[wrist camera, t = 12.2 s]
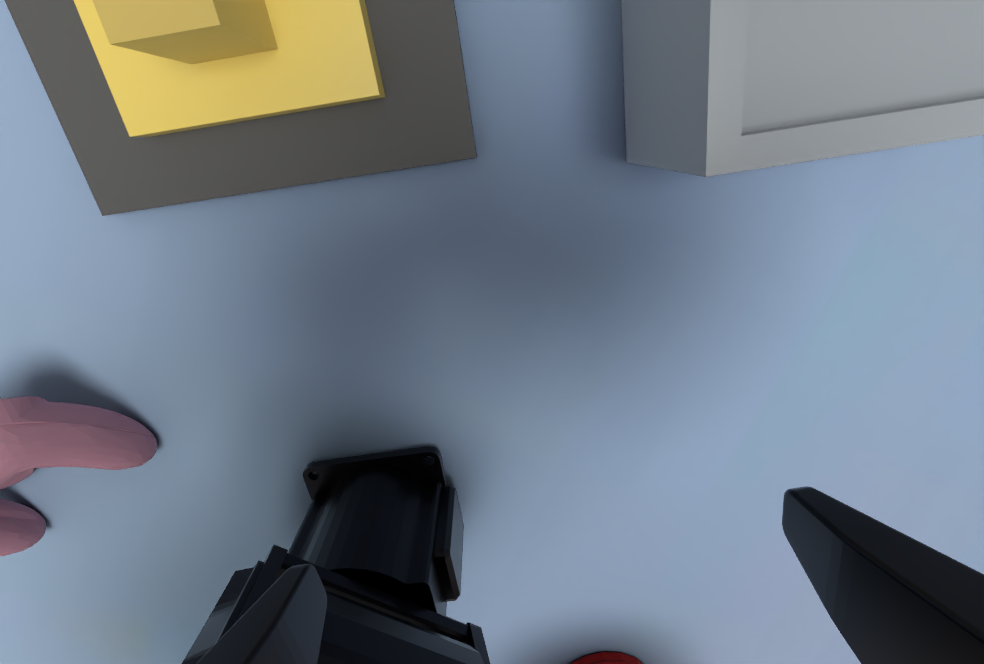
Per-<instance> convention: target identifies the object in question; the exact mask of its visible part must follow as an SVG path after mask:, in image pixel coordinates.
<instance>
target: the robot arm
mask: <svg viewBox="0 0 984 664" xmlns="http://www.w3.org/2000/svg"><path fill="white" fill-rule="evenodd" d="M428 456H430V457H432V458H434V459H432V460H428V459H426V458H425V457H428ZM312 472H316V473H318V474H319V475H315V474H313V473H312ZM303 478H304V481H305V483H306V486H307V489H308V491H309V494H310V497H311V499H312V502H311V505H310V507H309V509H308V511H307V513H306V515H305V517H304V520H303V522H302V524H301V526H300V528H299V530H298V532H297V535H296V537H295V539H294V541H293V543H292V545H291V547H290V549H289V552H288V553H287V551H288V550H286V549H284V548H281V547H279V546H276V545H273V547H272V549H271V550H270V552H269V554H268V556H267V557H266V559H265V561H264V562H262V561H258V563H257V564H256V565H255V567H254V568H249V569H244V570H239V571H235V573H234V574H233V576H232V578H231V580H230V582H229V583H228V585H227V587H226V589H225V590H224V592H223V594H222V596H221V597H220V599H219V601H218V603H217V604H216V606H215V608H214V610H213V611H212V613H211V615H210V616H209V618H208V620H207V622H206V623H205V625H204V627H203V628H202V630H201V632H200V634H199V635H198V637H197V639H196V640H195V642H194V644H193V646H192V647H191V649H190V651H189V652H188V654H187V656H186V658H185V659H184V661H183V663H182V664H490V661H489V657H488V653H487V649H486V645H485V641H484V637H483V633H482V629H481V627H479V626H476V625H474V624H471V623H467V624H464V623H461V622H459V621H456V620H454V619H451V618H449V617H446V607H447V601H455V600H456V599H457V598H458V597H459V595H460V592H461V571H462V551H463V531H464V525H463V520H462V516H461V511H460V507H459V502H458V498H457V493H456V489H455V488H454V487H453V486H452V485H447V481H446V476H445V472H444V468H443V463H442V459H441V455H440V452H439V451H438V450H437V449H436V448H433V447H423V448H415V449H408V450H400V451H393V452H385V453H378V454H370V455H362V456H355V457H347V458H340V459H332V460H325V461H317V462H312V463H309V464H308V465H307V466H306V468H305V470H304V472H303ZM782 526H783V530H784V533H785V536H786V538H787V539H788V541H789V543H790V545H791V547H792V549H793V550H794V552H795V554H796V556H797V558H798V559H799V561H800V563H801V565H802V567H803V569H804V570H805V572H806V574H807V576H808V578H809V579H810V581H811V583H812V585H813V587H814V589H815V590H816V592H817V594H818V596H819V598H820V599H821V601H822V603H823V605H824V607H825V608H826V610H827V612H828V614H829V615H830V617H831V619H832V620H833V622H834V623H835V625H836V627H837V628H838V630H839V631H840V633H841V634H842V636H843V637H844V639H845V640H846V642H847V643H848V645H849V646H850V648H851V649H852V650H853V652H854V653H855V655H856V656H857V658H858V659H859V661H860V662H861V664H984V574H982V573H980V572H978V571H976V570H974V569H972V568H970V567H968V566H966V565H964V564H962V563H960V562H958V561H956V560H954V559H952V558H950V557H948V556H946V555H944V554H942V553H941V552H939V551H937V550H935V549H933V548H931V547H929V546H927V545H925V544H923V543H921V542H919V541H917V540H915V539H913V538H911V537H909V536H907V535H905V534H903V533H901V532H899V531H897V530H895V529H893V528H891V527H889V526H887V525H885V524H883V523H881V522H879V521H877V520H875V519H873V518H872V517H870V516H868V515H866V514H864V513H862V512H860V511H858V510H856V509H854V508H852V507H850V506H848V505H846V504H844V503H842V502H840V501H838V500H836V499H834V498H832V497H830V496H828V495H826V494H824V493H822V492H820V491H818V490H816V489H814V488H812V487H800V488H793V489H788V490H787V491H786V492H785V493H784V502H783V516H782Z"/></svg>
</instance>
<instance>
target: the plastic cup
mask: <svg viewBox="0 0 984 664" xmlns="http://www.w3.org/2000/svg"><path fill="white" fill-rule="evenodd" d="M571 664H642V663H641V662H640V661H639V660H638V659H637V658H635V657H632V656H629V655H626V654H623V653H615V652H600V653H596V654H592V655H587V656H584V657H582V658H580V659H578V660H576V661H575V662H573V663H571Z"/></svg>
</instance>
